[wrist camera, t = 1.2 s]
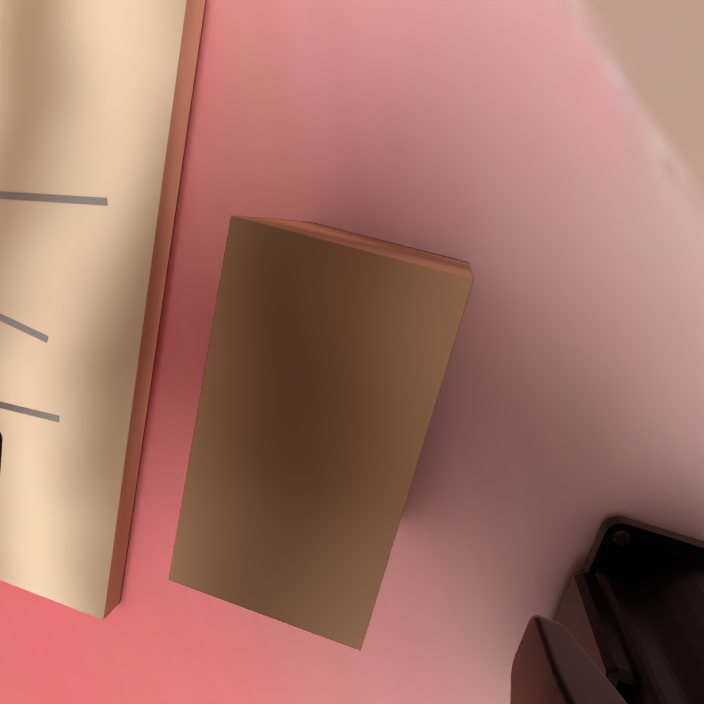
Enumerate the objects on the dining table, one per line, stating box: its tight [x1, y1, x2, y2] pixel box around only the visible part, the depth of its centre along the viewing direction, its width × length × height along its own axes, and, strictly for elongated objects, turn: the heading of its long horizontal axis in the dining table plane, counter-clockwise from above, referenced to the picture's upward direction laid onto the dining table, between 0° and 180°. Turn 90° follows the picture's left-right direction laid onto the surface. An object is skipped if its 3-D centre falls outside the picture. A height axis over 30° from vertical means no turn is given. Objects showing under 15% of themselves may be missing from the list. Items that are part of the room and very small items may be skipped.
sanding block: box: [169, 216, 473, 651], centre depth 14 cm, size 5×9×6 cm, turn 166°
